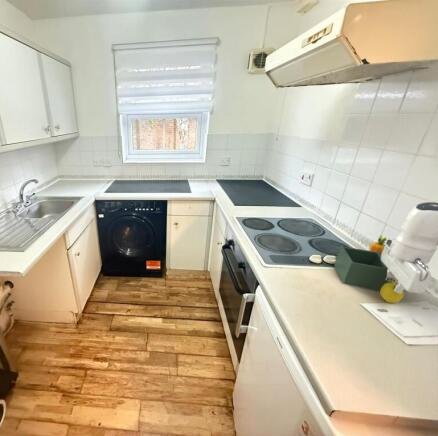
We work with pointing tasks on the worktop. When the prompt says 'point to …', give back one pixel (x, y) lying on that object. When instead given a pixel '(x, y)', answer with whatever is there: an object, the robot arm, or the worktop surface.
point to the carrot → (378, 245)
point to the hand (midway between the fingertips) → (392, 286)
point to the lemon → (390, 293)
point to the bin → (361, 268)
